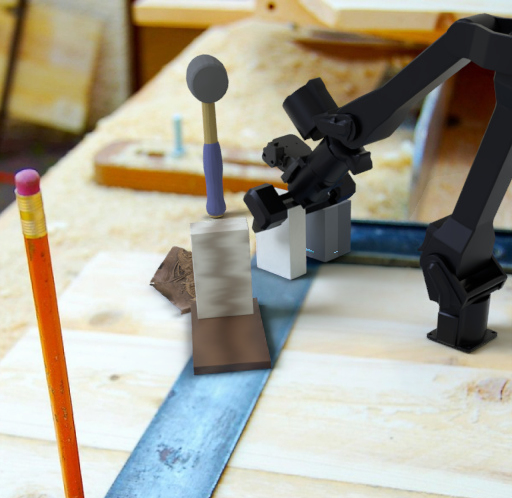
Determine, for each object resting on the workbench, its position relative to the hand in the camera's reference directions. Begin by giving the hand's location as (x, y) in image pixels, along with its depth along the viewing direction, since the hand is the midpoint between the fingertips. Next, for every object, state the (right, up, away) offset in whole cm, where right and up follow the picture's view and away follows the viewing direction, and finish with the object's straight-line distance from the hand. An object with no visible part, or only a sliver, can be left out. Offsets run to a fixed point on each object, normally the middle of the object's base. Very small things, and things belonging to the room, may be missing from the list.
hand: (275, 222), depth 122 cm
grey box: (+9, -4, +8) cm, 13 cm away
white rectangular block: (+1, -7, +3) cm, 8 cm away
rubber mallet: (-7, +6, +30) cm, 31 cm away
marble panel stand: (-9, -19, -15) cm, 26 cm away
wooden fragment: (-15, -9, +5) cm, 18 cm away
